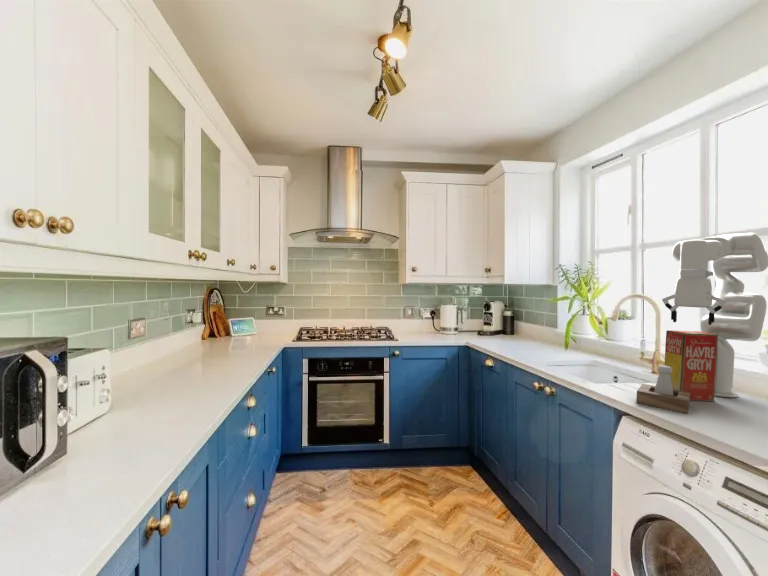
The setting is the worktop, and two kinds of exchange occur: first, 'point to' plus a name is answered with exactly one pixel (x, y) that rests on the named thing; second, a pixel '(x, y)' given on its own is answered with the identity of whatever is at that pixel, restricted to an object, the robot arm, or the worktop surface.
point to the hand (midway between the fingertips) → (691, 323)
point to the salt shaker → (664, 380)
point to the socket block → (663, 399)
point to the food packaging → (692, 362)
